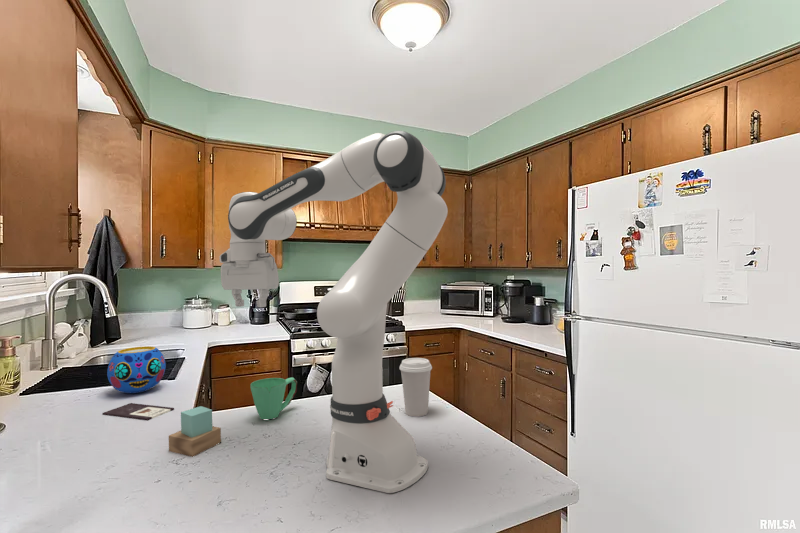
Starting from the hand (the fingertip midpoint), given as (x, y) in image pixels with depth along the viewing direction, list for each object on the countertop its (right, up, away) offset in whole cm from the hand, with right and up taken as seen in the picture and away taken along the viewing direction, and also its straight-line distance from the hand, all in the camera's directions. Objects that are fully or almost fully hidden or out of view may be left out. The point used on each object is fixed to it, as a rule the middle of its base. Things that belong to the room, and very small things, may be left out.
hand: (250, 306), depth 107 cm
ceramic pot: (-54, -34, +37) cm, 74 cm away
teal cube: (-10, -29, -9) cm, 32 cm away
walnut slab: (-10, -33, -9) cm, 36 cm away
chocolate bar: (-40, -34, +16) cm, 55 cm away
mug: (+3, -33, +11) cm, 35 cm away
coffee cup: (+45, -32, +10) cm, 56 cm away
